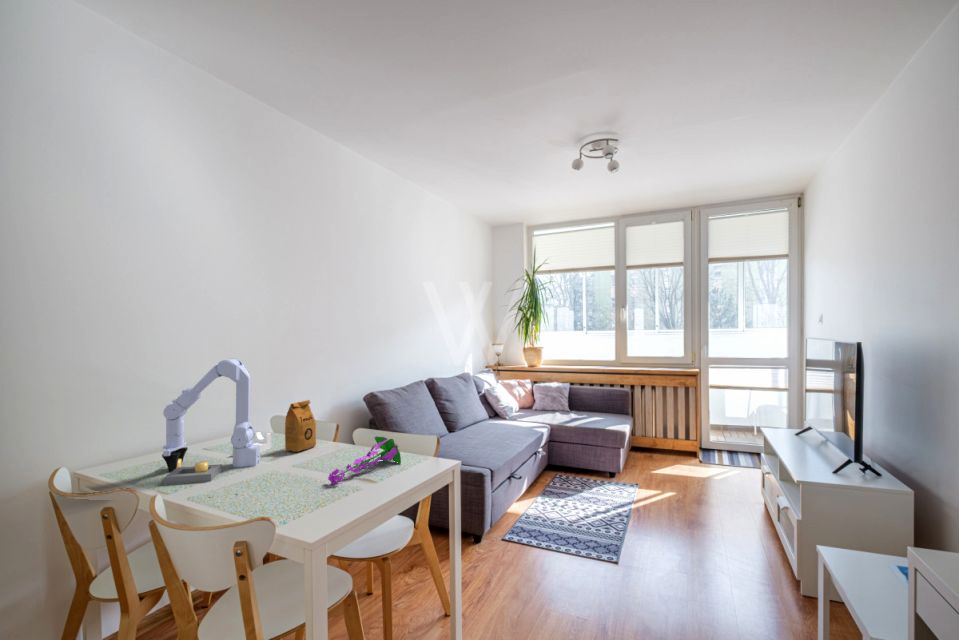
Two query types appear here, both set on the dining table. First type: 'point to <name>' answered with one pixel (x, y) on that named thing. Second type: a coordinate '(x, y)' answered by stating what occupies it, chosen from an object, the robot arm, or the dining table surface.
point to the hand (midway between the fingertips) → (175, 469)
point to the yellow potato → (201, 467)
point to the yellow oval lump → (179, 463)
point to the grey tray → (191, 475)
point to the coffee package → (300, 427)
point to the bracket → (263, 441)
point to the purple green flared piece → (387, 454)
